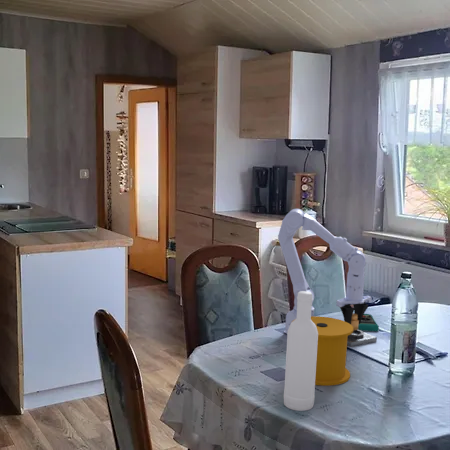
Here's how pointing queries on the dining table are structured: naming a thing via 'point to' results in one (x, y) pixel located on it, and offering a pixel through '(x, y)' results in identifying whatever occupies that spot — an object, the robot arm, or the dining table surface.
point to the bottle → (301, 357)
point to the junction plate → (360, 338)
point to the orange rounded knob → (354, 321)
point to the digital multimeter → (368, 323)
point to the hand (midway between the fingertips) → (352, 324)
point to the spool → (331, 350)
